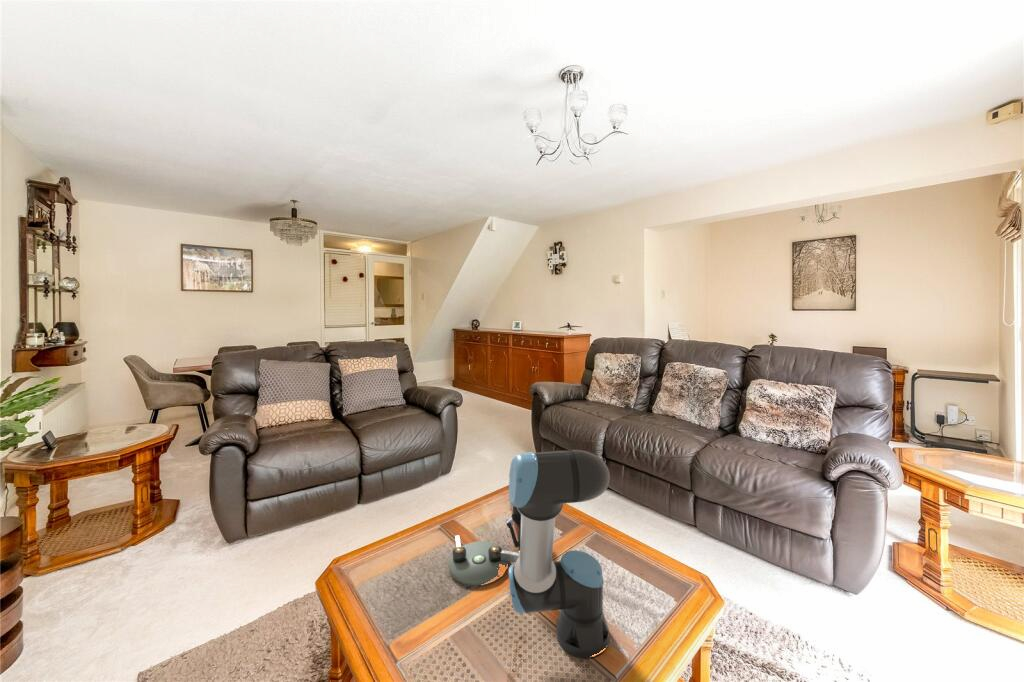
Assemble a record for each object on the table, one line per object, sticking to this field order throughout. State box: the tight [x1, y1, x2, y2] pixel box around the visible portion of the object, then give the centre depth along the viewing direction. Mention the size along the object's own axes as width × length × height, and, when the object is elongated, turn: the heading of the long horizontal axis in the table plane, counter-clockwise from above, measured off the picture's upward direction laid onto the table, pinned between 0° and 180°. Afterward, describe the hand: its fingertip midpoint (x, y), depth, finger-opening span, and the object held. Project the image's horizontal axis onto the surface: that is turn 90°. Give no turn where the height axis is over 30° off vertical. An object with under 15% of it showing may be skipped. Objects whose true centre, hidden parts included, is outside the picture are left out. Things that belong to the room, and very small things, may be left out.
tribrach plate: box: [448, 540, 510, 587], centre depth 144 cm, size 22×22×2 cm
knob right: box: [488, 546, 520, 563], centre depth 143 cm, size 12×5×4 cm, turn 74°
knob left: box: [452, 534, 466, 563], centre depth 148 cm, size 12×5×4 cm, turn 13°
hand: (524, 562), depth 139 cm, fingers closed
